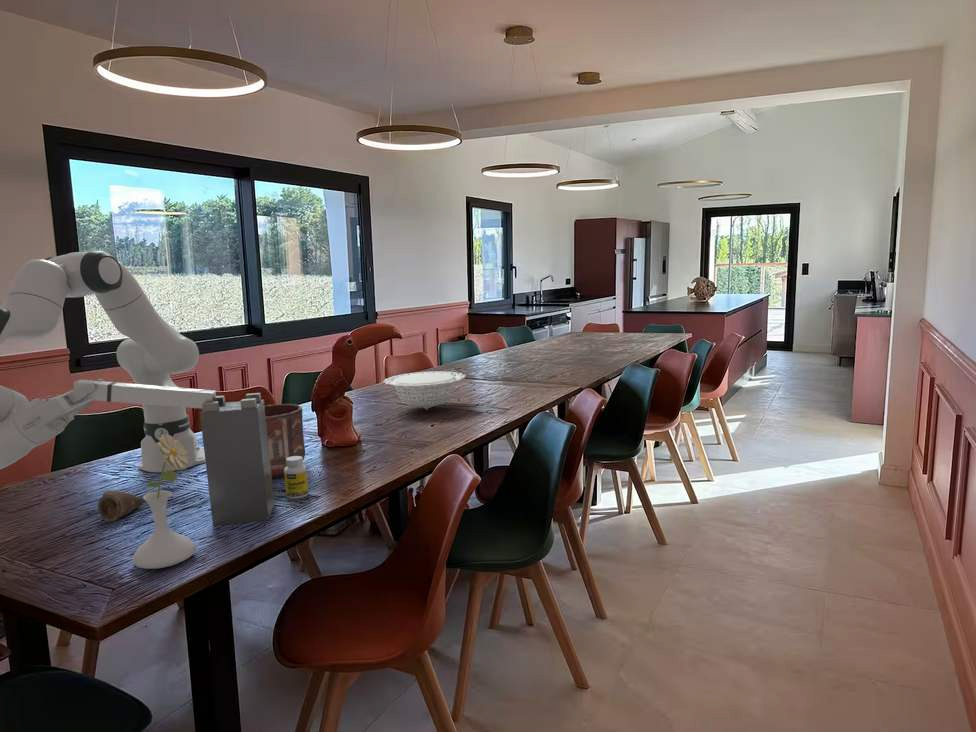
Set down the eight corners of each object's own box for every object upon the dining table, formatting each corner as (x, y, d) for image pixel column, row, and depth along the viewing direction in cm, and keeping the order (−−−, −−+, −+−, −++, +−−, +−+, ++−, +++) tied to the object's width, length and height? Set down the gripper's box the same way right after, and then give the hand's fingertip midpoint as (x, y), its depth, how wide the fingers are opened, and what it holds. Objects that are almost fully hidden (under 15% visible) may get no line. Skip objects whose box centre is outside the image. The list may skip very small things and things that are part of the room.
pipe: (117, 481, 169) (75, 486, 161) (152, 490, 160) (109, 497, 152) (116, 506, 169) (74, 512, 161) (151, 517, 160) (108, 524, 152)
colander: (368, 413, 256) (366, 381, 254) (426, 398, 279) (424, 368, 277) (426, 423, 235) (424, 388, 233) (484, 406, 259) (482, 374, 257)
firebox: (220, 510, 157) (207, 396, 153) (274, 504, 160) (262, 392, 155) (211, 526, 148) (197, 405, 143) (268, 520, 150) (256, 400, 146)
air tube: (80, 395, 145) (81, 379, 145) (214, 406, 151) (216, 390, 150) (73, 398, 141) (73, 381, 141) (211, 409, 147) (212, 393, 147)
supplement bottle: (286, 500, 162) (282, 462, 161) (286, 493, 167) (282, 456, 166) (309, 497, 164) (305, 459, 162) (308, 490, 169) (305, 453, 167)
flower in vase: (163, 578, 123) (146, 448, 119) (119, 570, 127) (101, 445, 124) (215, 549, 135) (201, 430, 131) (173, 543, 139) (159, 428, 136)
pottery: (243, 468, 191) (237, 407, 188) (306, 460, 196) (300, 401, 193) (240, 486, 174) (233, 420, 172) (309, 477, 180) (303, 413, 177)
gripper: (7, 418, 132) (67, 379, 133) (53, 398, 152) (106, 365, 153) (28, 443, 133) (88, 404, 134) (72, 420, 153) (123, 387, 154)
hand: (98, 383), depth 144 cm, fingers closed on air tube, 4 cm apart
